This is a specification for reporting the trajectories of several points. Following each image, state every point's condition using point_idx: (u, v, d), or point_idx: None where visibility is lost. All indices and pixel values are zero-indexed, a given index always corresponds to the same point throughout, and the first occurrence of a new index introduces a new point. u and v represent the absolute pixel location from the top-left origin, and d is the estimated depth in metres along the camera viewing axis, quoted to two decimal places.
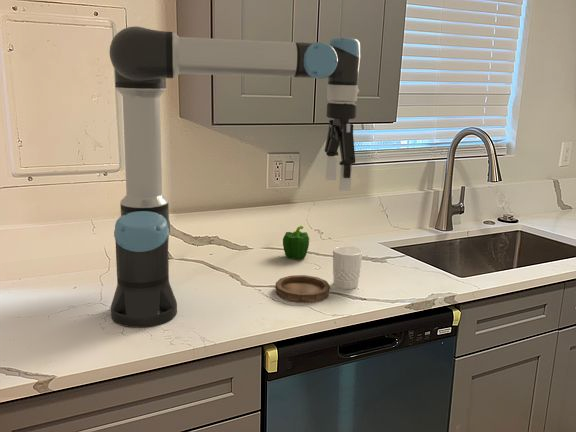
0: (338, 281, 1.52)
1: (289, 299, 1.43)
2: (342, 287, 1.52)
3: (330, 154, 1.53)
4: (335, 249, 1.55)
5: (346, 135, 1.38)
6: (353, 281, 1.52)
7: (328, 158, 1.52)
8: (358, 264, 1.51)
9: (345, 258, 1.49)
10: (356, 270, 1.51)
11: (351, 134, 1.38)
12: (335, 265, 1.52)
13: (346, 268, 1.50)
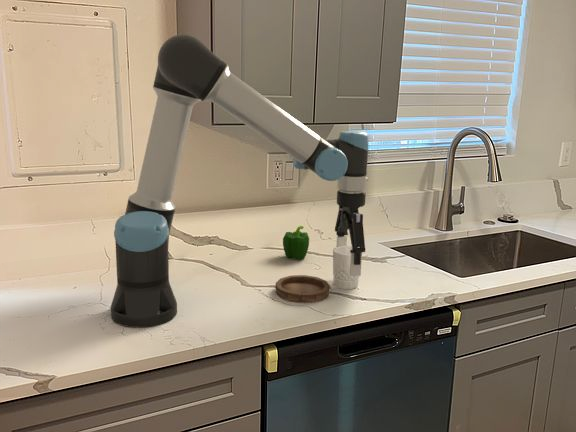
0: (338, 281, 1.52)
1: (289, 299, 1.43)
2: (342, 287, 1.52)
3: (340, 234, 1.59)
4: (335, 249, 1.55)
5: (356, 225, 1.44)
6: (353, 281, 1.52)
7: (338, 239, 1.59)
8: None
9: (345, 258, 1.49)
10: None
11: (361, 224, 1.44)
12: (335, 265, 1.52)
13: (346, 268, 1.50)
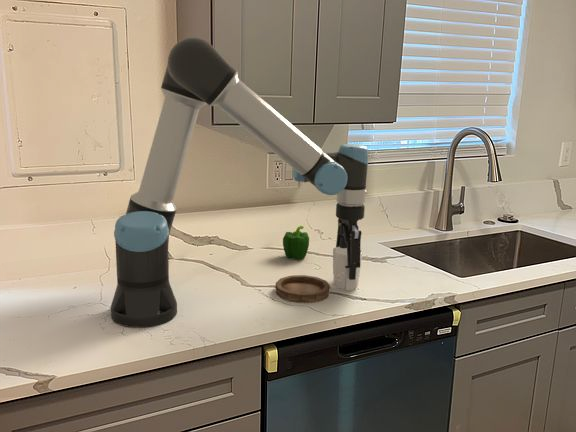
0: (339, 281, 1.52)
1: (289, 299, 1.43)
2: (342, 287, 1.52)
3: None
4: (335, 249, 1.55)
5: (354, 241, 1.46)
6: None
7: None
8: None
9: (345, 258, 1.49)
10: None
11: (358, 240, 1.46)
12: (335, 265, 1.52)
13: None
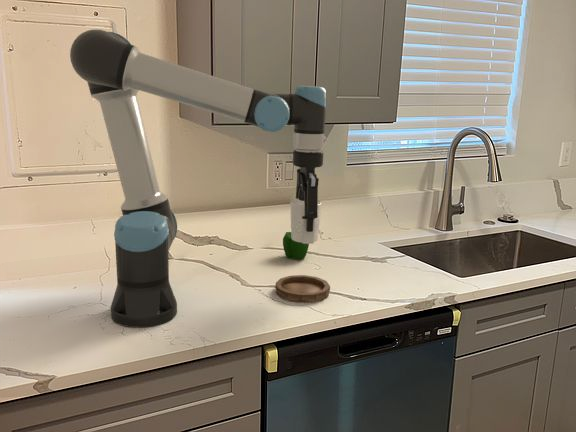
0: (296, 234, 1.42)
1: (289, 299, 1.43)
2: (300, 240, 1.42)
3: None
4: (293, 201, 1.45)
5: (310, 189, 1.36)
6: None
7: None
8: None
9: (303, 208, 1.40)
10: None
11: (316, 188, 1.36)
12: (292, 217, 1.42)
13: None
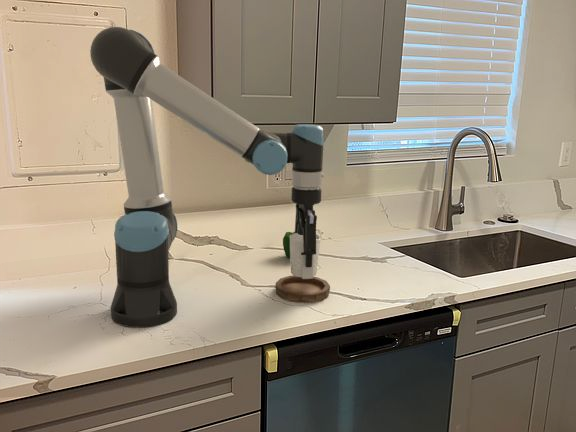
0: (295, 269, 1.45)
1: (289, 299, 1.43)
2: (299, 275, 1.45)
3: None
4: (292, 235, 1.47)
5: (309, 227, 1.38)
6: None
7: None
8: None
9: (302, 244, 1.42)
10: None
11: (314, 225, 1.38)
12: (291, 252, 1.44)
13: None
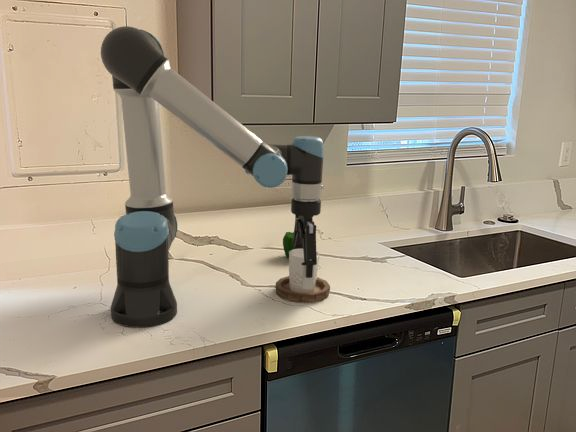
0: (294, 285, 1.46)
1: (289, 299, 1.43)
2: (298, 291, 1.46)
3: (297, 248, 1.52)
4: (291, 251, 1.49)
5: (309, 236, 1.38)
6: None
7: None
8: (314, 267, 1.45)
9: (301, 261, 1.43)
10: None
11: (314, 235, 1.38)
12: (291, 268, 1.46)
13: (301, 271, 1.44)
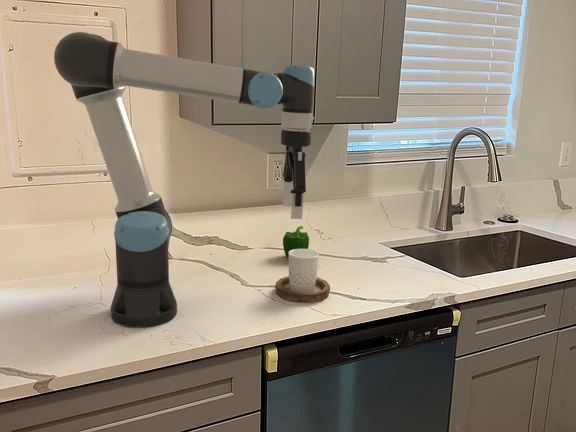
0: (294, 285, 1.46)
1: (289, 299, 1.43)
2: (298, 291, 1.46)
3: (287, 180, 1.51)
4: (291, 252, 1.49)
5: (297, 163, 1.36)
6: (309, 285, 1.46)
7: (285, 184, 1.51)
8: (314, 267, 1.45)
9: (300, 261, 1.43)
10: (312, 274, 1.45)
11: (303, 162, 1.36)
12: (290, 268, 1.46)
13: (301, 272, 1.44)
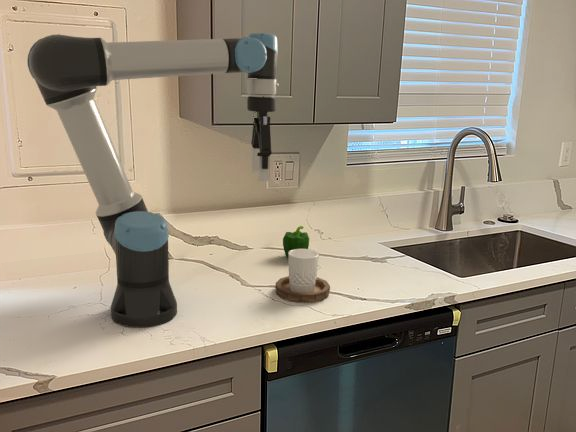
0: (294, 286, 1.46)
1: (289, 299, 1.43)
2: (298, 291, 1.46)
3: (255, 146, 1.57)
4: (291, 252, 1.49)
5: (263, 127, 1.42)
6: (309, 285, 1.46)
7: (253, 150, 1.57)
8: (314, 267, 1.45)
9: (300, 261, 1.43)
10: (312, 274, 1.45)
11: (268, 126, 1.42)
12: (290, 268, 1.46)
13: (301, 272, 1.44)
